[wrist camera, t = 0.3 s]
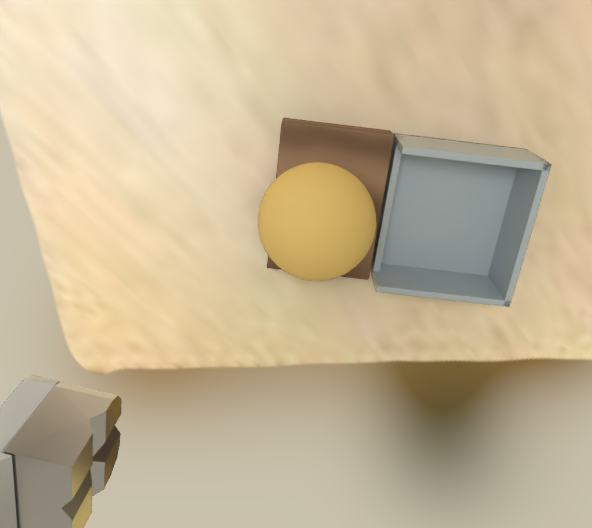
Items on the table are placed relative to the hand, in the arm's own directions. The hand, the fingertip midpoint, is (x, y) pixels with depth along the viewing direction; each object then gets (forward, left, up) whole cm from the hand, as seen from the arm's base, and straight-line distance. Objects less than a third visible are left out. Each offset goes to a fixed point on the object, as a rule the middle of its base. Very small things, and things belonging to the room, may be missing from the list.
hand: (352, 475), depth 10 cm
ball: (+9, +1, -38) cm, 39 cm away
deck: (+9, +2, -46) cm, 47 cm away
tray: (+9, +13, -46) cm, 49 cm away
